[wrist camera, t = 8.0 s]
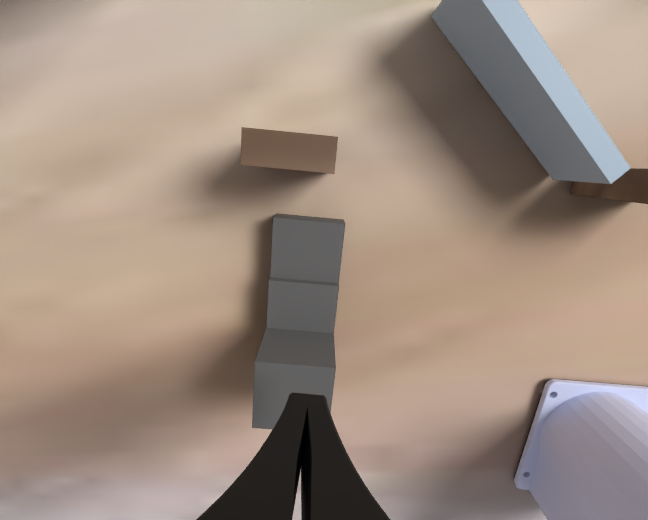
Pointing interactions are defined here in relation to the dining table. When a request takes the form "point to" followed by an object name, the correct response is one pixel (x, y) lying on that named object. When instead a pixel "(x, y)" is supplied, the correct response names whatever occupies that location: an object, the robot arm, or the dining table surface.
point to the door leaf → (531, 88)
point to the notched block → (298, 315)
